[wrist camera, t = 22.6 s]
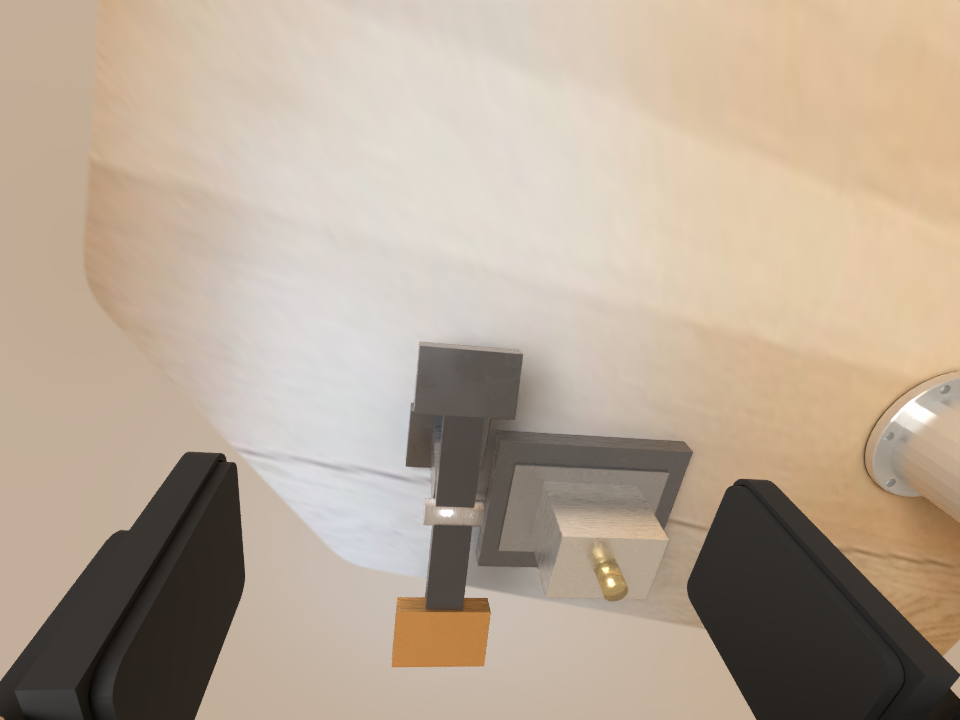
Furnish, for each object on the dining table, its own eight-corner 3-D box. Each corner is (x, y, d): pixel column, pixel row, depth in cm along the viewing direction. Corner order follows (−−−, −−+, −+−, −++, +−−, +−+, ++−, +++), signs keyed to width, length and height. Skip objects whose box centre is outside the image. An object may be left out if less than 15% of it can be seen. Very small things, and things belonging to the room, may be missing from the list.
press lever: (517, 349, 31) (523, 354, 29) (480, 648, 35) (484, 667, 33) (419, 341, 30) (419, 345, 29) (392, 649, 34) (391, 668, 32)
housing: (637, 485, 42) (682, 561, 35) (619, 540, 44) (657, 621, 37) (543, 481, 41) (570, 558, 33) (530, 538, 43) (552, 621, 36)
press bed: (691, 421, 42) (742, 478, 35) (642, 556, 48) (678, 626, 41) (411, 402, 38) (408, 461, 32) (397, 550, 44) (393, 626, 38)
